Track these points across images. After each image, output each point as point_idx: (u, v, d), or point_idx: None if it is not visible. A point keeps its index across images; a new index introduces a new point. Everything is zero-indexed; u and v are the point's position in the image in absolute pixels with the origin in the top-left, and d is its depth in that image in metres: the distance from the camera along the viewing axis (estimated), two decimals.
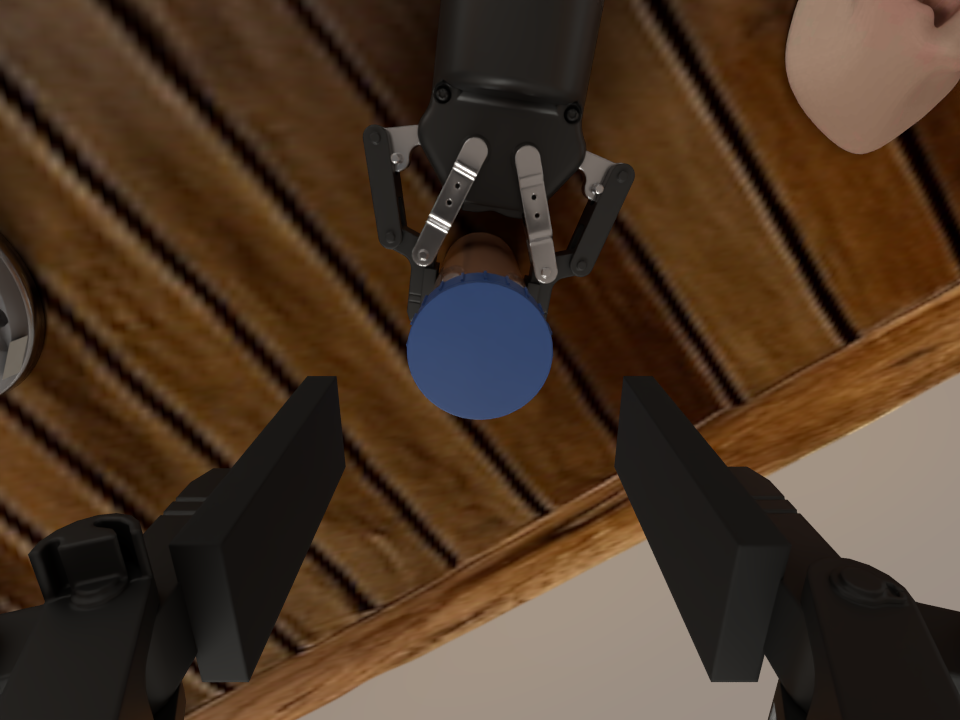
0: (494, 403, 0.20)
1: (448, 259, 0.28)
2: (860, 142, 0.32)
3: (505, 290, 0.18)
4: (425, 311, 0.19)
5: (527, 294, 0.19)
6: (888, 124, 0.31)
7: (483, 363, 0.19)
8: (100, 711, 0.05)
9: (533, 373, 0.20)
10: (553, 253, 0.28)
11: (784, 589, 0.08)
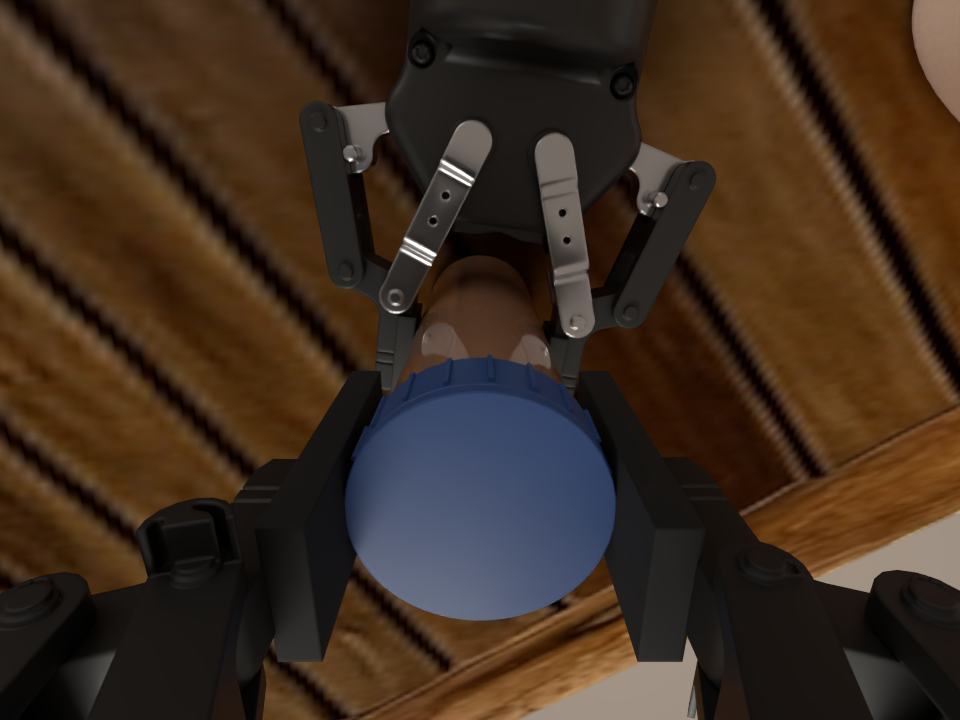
0: (506, 595, 0.11)
1: (433, 302, 0.19)
2: None
3: (530, 406, 0.10)
4: (375, 443, 0.10)
5: (569, 406, 0.10)
6: None
7: (486, 531, 0.10)
8: (199, 688, 0.06)
9: (579, 548, 0.11)
10: (589, 295, 0.18)
11: (700, 571, 0.08)
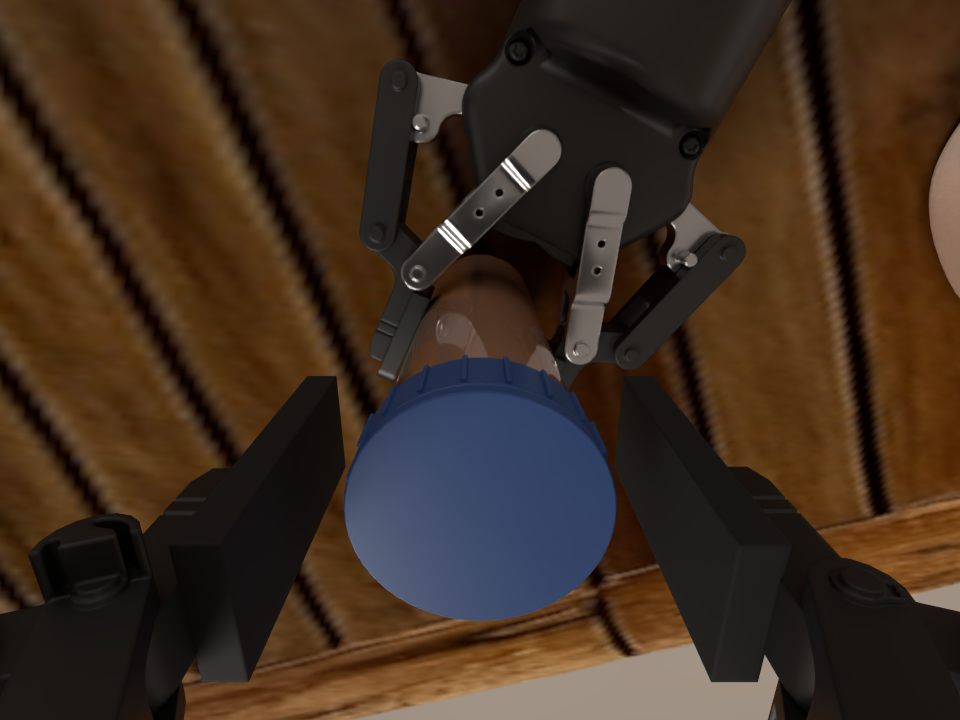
0: (570, 556, 0.11)
1: (450, 289, 0.19)
2: None
3: (417, 411, 0.10)
4: (353, 529, 0.10)
5: (461, 377, 0.10)
6: None
7: (498, 523, 0.10)
8: (100, 711, 0.05)
9: (581, 475, 0.10)
10: (599, 327, 0.19)
11: (785, 589, 0.08)
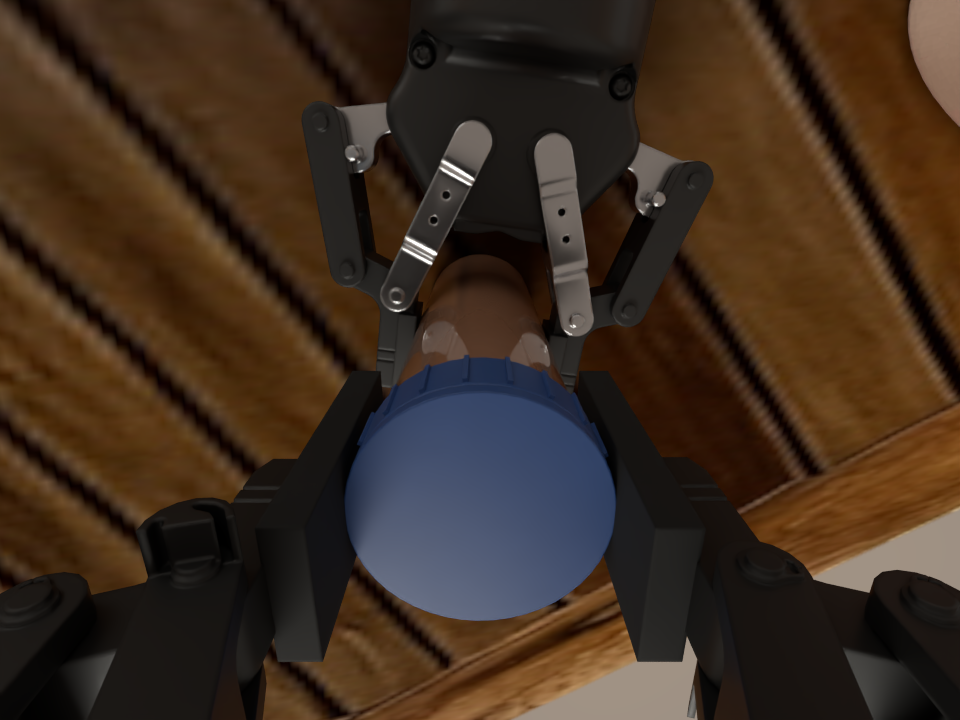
0: (582, 532, 0.10)
1: (434, 300, 0.20)
2: None
3: (384, 433, 0.10)
4: (367, 559, 0.11)
5: (420, 389, 0.10)
6: None
7: (499, 518, 0.10)
8: (199, 688, 0.06)
9: (563, 451, 0.10)
10: (588, 293, 0.19)
11: (700, 572, 0.08)
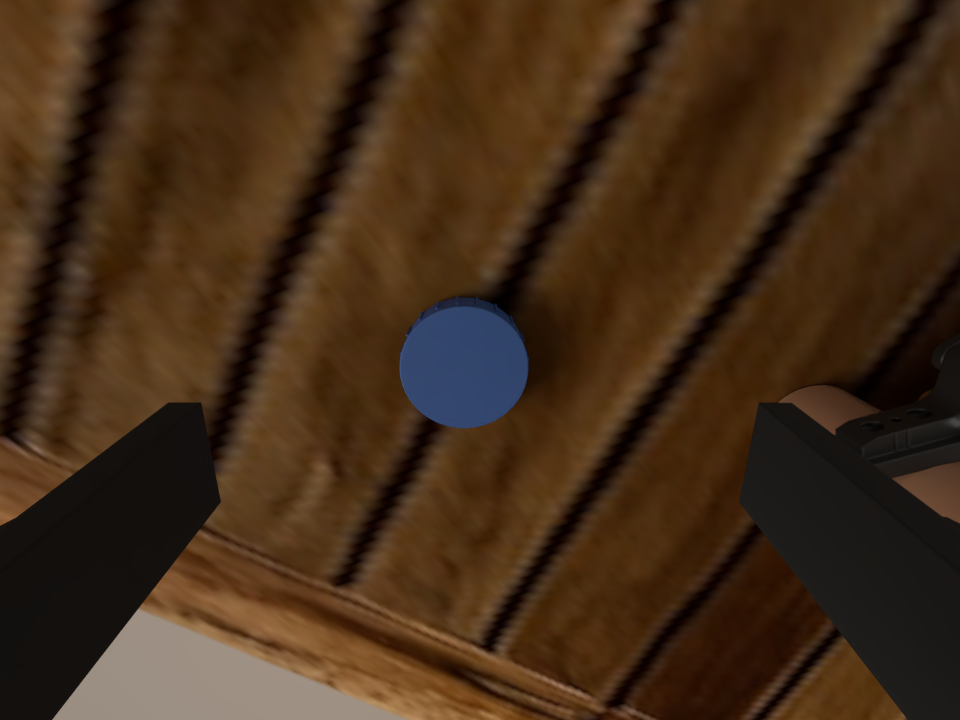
0: (512, 377, 0.22)
1: None
2: None
3: (420, 327, 0.21)
4: (409, 393, 0.22)
5: (435, 308, 0.22)
6: None
7: (473, 370, 0.22)
8: None
9: (501, 335, 0.21)
10: None
11: None
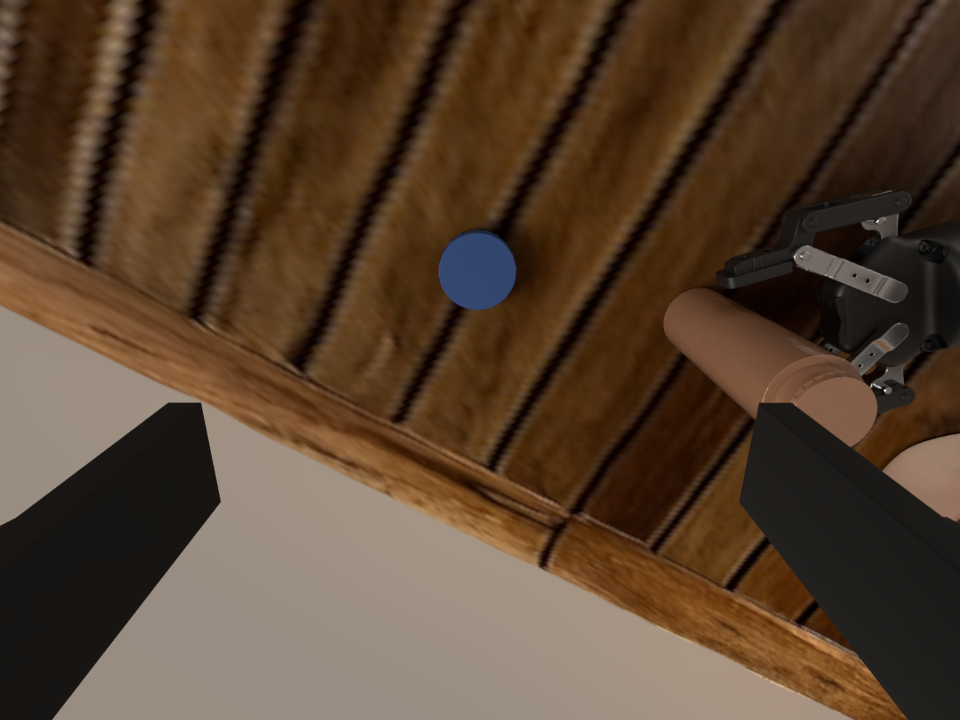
0: (506, 277, 0.37)
1: (757, 313, 0.33)
2: None
3: (451, 245, 0.36)
4: (444, 287, 0.37)
5: (460, 235, 0.36)
6: None
7: (483, 272, 0.37)
8: None
9: (500, 251, 0.36)
10: None
11: None
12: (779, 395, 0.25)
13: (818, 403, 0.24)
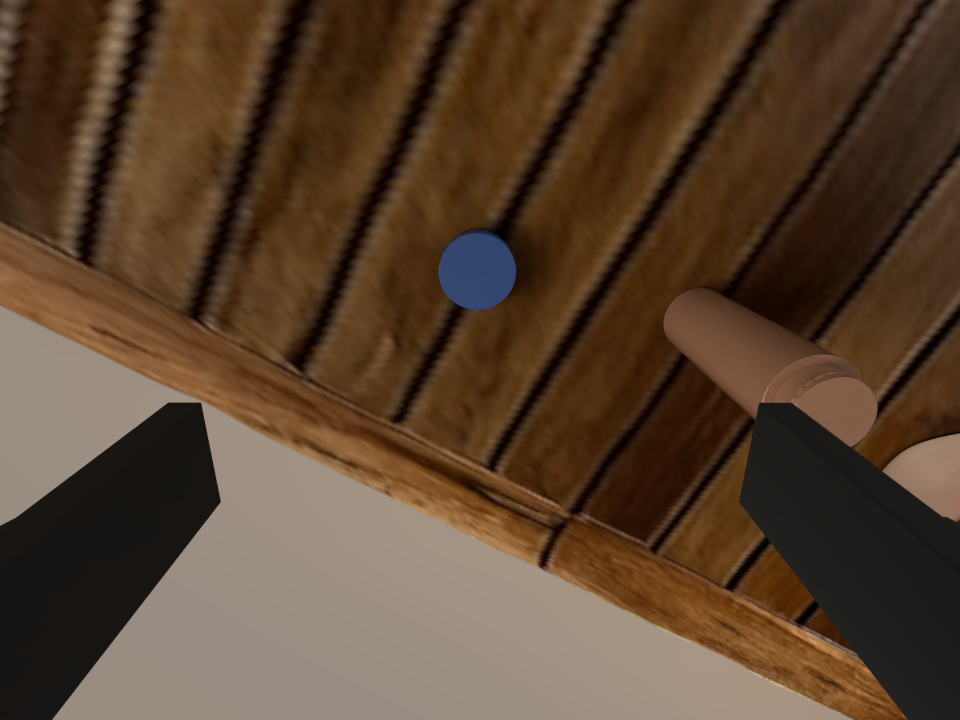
0: (506, 277, 0.37)
1: (757, 313, 0.33)
2: None
3: (451, 245, 0.36)
4: (444, 287, 0.37)
5: (460, 235, 0.36)
6: None
7: (483, 273, 0.37)
8: None
9: (500, 251, 0.36)
10: None
11: None
12: (779, 395, 0.25)
13: (818, 403, 0.24)
